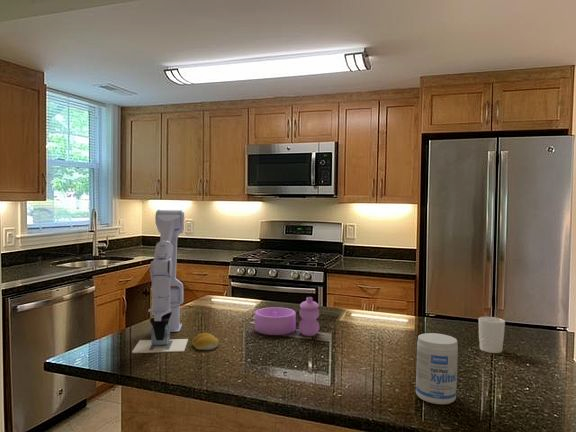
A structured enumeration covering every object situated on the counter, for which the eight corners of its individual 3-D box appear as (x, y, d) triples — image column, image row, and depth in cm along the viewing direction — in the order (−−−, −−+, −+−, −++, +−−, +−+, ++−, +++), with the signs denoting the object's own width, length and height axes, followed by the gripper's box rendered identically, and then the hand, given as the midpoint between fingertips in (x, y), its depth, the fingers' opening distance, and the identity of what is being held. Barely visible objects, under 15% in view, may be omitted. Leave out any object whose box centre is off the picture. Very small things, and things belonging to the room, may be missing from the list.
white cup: (483, 344, 152) (484, 315, 151) (507, 350, 146) (508, 319, 146) (473, 349, 146) (474, 319, 146) (498, 355, 140) (499, 324, 140)
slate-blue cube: (154, 339, 148) (154, 324, 148) (169, 339, 149) (169, 324, 148) (151, 344, 143) (151, 329, 143) (167, 344, 144) (167, 328, 143)
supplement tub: (434, 408, 104) (435, 346, 103) (407, 392, 112) (408, 334, 112) (465, 401, 108) (466, 341, 107) (437, 386, 116) (438, 330, 116)
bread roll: (198, 352, 141) (198, 340, 141) (189, 344, 149) (189, 332, 149) (222, 348, 145) (223, 336, 145) (213, 340, 153) (213, 329, 153)
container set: (247, 331, 164) (247, 296, 163) (266, 321, 177) (266, 288, 177) (310, 341, 153) (311, 303, 153) (325, 329, 167) (326, 294, 167)
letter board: (139, 341, 151) (139, 340, 151) (188, 339, 153) (188, 338, 153) (131, 353, 139) (131, 352, 139) (184, 351, 141) (184, 350, 141)
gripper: (152, 291, 152) (152, 331, 152) (144, 301, 138) (144, 344, 138) (173, 291, 153) (173, 330, 153) (167, 300, 138) (167, 344, 139)
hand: (161, 337), depth 146 cm, fingers closed on slate-blue cube, 5 cm apart
